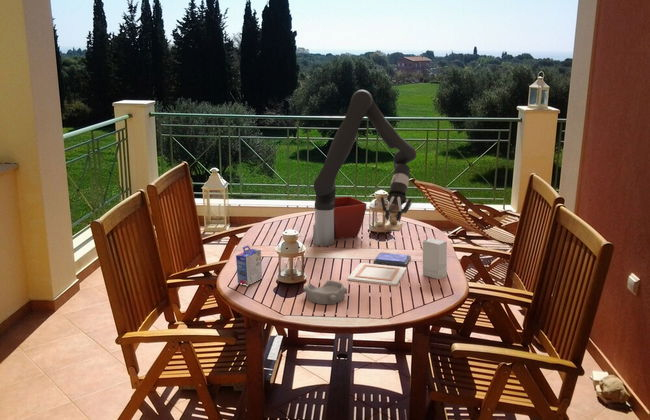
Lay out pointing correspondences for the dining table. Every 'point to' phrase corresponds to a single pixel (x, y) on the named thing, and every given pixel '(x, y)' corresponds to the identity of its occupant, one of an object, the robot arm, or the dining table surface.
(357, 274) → the marked board
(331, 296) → the dish
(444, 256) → the skincare box
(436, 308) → the dining table surface
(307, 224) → the dining table surface
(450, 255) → the dining table surface
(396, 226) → the rubber stamp
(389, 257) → the ink pad
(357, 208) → the plant pot
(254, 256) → the ink cartridge box
